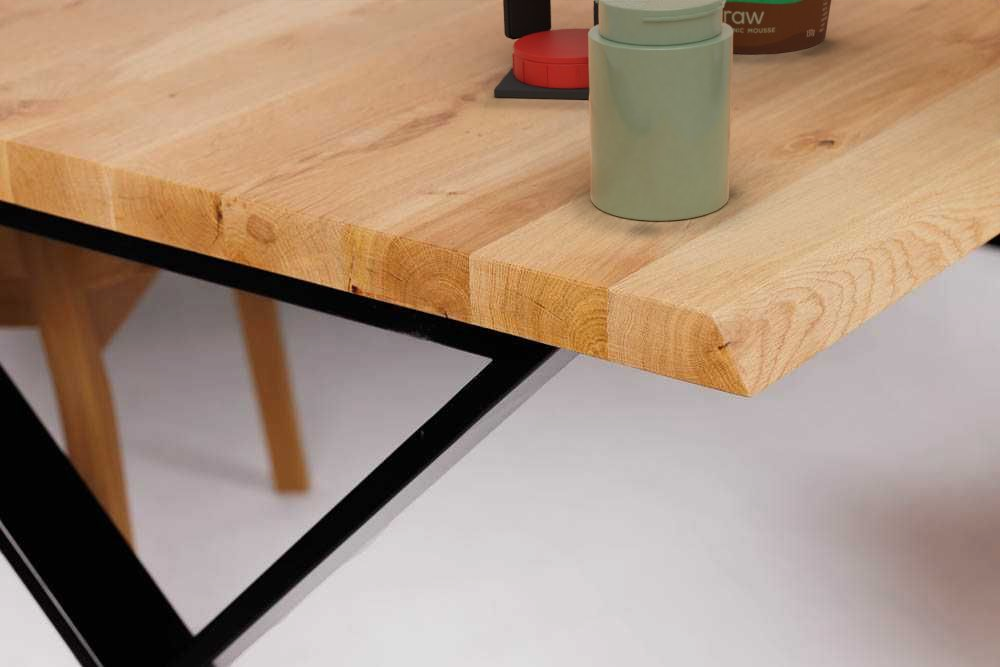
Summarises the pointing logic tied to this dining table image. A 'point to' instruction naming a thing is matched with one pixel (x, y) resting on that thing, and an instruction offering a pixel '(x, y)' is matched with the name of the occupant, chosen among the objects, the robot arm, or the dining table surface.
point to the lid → (553, 59)
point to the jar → (660, 108)
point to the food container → (776, 24)
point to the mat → (535, 90)
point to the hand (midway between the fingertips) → (571, 50)
